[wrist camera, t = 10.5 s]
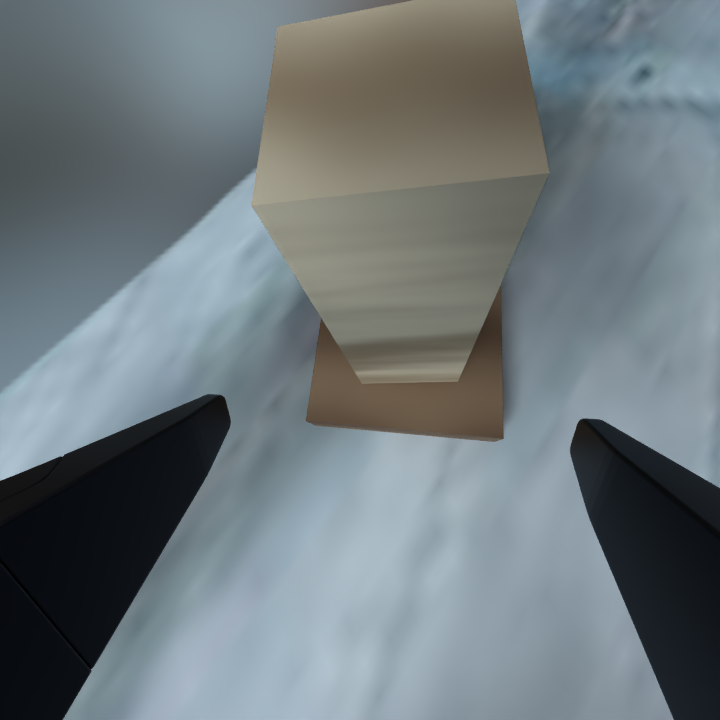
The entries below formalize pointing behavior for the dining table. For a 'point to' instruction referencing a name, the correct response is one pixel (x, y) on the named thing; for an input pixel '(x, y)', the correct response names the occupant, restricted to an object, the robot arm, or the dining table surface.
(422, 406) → the walnut block
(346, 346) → the maple block
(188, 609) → the dining table surface
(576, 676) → the dining table surface
